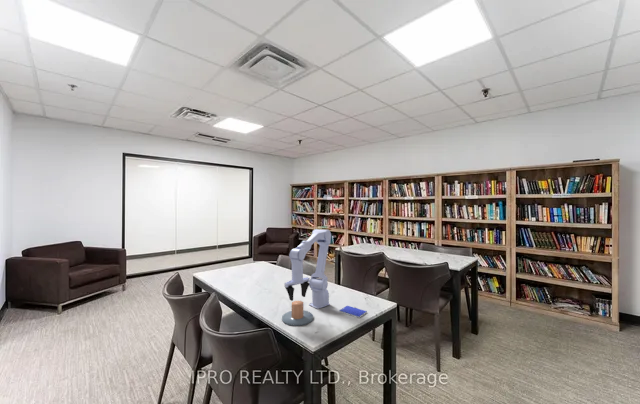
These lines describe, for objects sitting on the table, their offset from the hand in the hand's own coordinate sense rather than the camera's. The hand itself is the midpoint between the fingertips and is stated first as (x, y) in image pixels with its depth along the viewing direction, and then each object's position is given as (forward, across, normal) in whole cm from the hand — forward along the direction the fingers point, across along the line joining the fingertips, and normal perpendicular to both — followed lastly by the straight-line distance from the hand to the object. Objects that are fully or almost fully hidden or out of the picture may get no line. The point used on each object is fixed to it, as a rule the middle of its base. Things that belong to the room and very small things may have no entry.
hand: (297, 298), depth 133 cm
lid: (+10, 0, 0) cm, 10 cm away
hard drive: (+11, +27, -14) cm, 32 cm away
